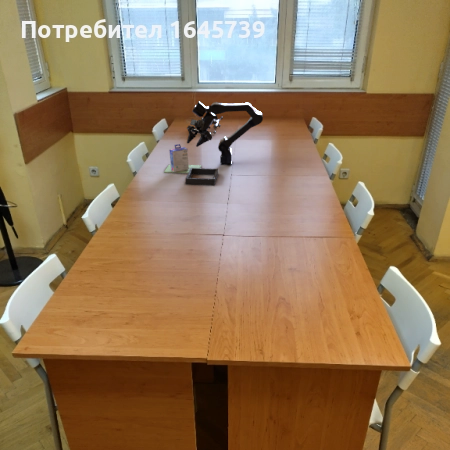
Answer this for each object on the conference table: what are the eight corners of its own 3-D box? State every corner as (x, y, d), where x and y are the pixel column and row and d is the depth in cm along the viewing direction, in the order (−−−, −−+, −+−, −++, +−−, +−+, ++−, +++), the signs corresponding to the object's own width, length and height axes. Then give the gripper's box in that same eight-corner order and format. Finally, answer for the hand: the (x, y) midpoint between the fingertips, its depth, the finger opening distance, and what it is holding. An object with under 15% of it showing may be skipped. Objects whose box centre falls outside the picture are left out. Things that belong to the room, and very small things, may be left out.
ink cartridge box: (185, 167, 271) (184, 142, 263) (189, 169, 267) (188, 145, 259) (170, 169, 267) (168, 145, 259) (174, 172, 263) (172, 147, 255)
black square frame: (218, 174, 262) (218, 168, 260) (214, 185, 247) (214, 179, 245) (190, 173, 263) (190, 167, 261) (185, 184, 249) (185, 178, 247)
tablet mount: (208, 143, 341) (220, 125, 333) (192, 131, 337) (205, 113, 329) (211, 134, 363) (223, 117, 355) (196, 123, 359) (208, 105, 351)
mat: (201, 166, 275) (201, 165, 275) (197, 173, 263) (197, 172, 263) (168, 165, 277) (168, 164, 276) (164, 172, 265) (164, 171, 265)
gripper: (188, 110, 264) (174, 133, 265) (208, 116, 253) (193, 139, 253) (199, 122, 273) (185, 144, 273) (219, 128, 261) (204, 151, 262)
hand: (191, 144), depth 265 cm, fingers open, 9 cm apart
